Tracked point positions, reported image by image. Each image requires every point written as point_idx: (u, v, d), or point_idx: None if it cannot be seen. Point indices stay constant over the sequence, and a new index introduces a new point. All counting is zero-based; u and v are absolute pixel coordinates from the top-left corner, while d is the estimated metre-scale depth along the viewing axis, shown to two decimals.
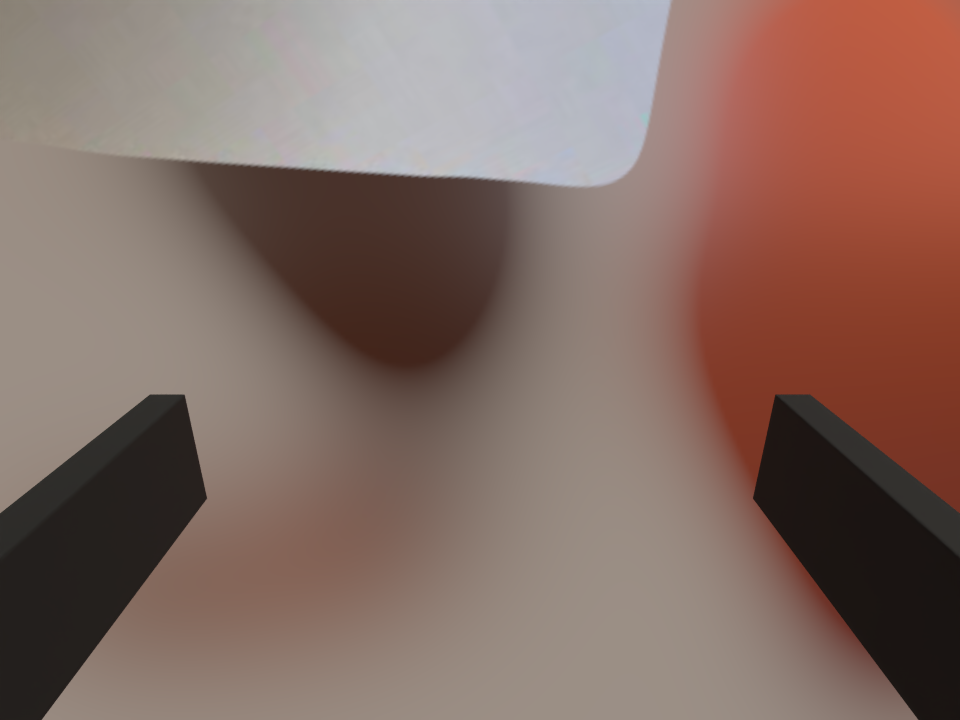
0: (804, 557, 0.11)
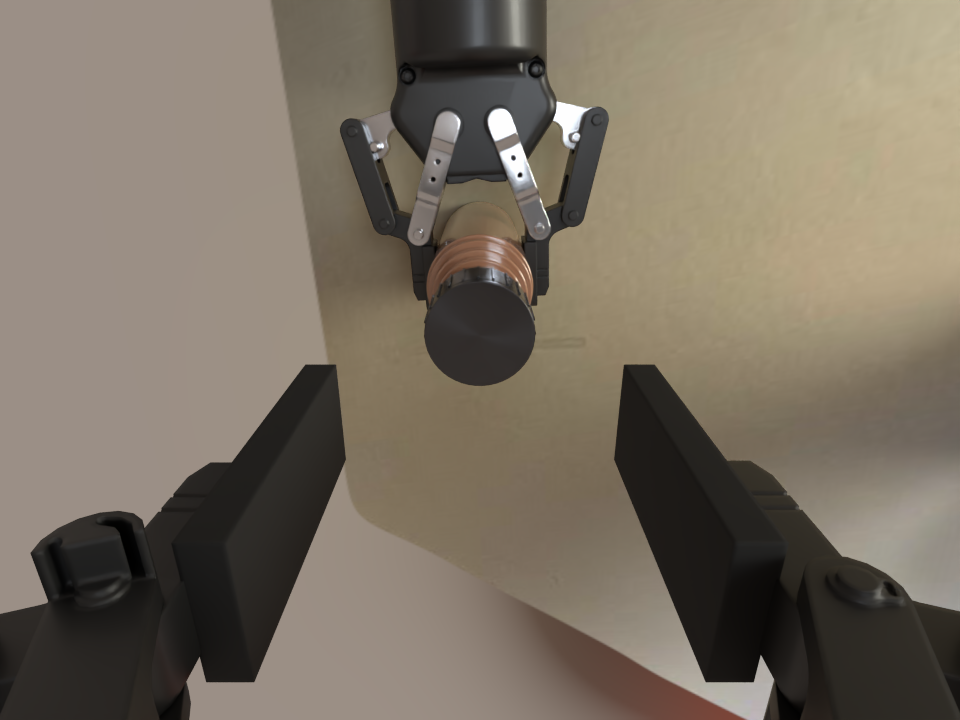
0: (636, 504, 0.13)
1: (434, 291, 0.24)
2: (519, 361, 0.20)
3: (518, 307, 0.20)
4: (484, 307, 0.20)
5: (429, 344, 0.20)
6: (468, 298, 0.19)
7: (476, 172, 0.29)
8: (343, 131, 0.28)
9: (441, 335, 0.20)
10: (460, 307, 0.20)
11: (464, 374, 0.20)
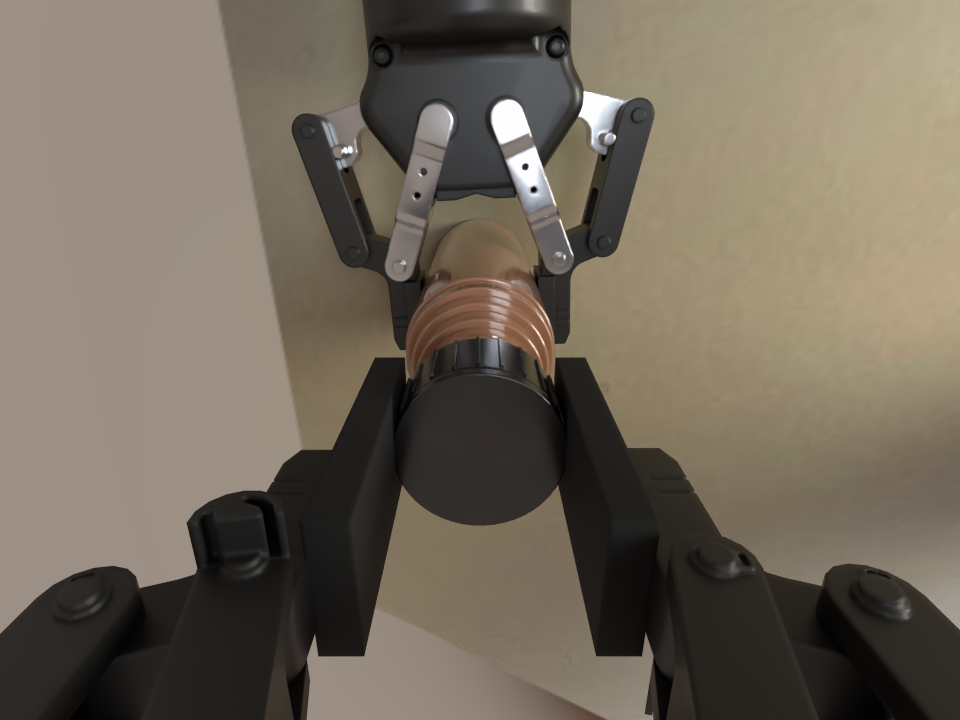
0: (561, 491, 0.13)
1: (415, 360, 0.17)
2: (542, 491, 0.13)
3: (542, 412, 0.12)
4: (487, 412, 0.12)
5: (400, 467, 0.13)
6: (461, 399, 0.12)
7: (475, 185, 0.22)
8: (296, 131, 0.21)
9: (419, 453, 0.13)
10: (449, 412, 0.12)
11: (456, 509, 0.13)
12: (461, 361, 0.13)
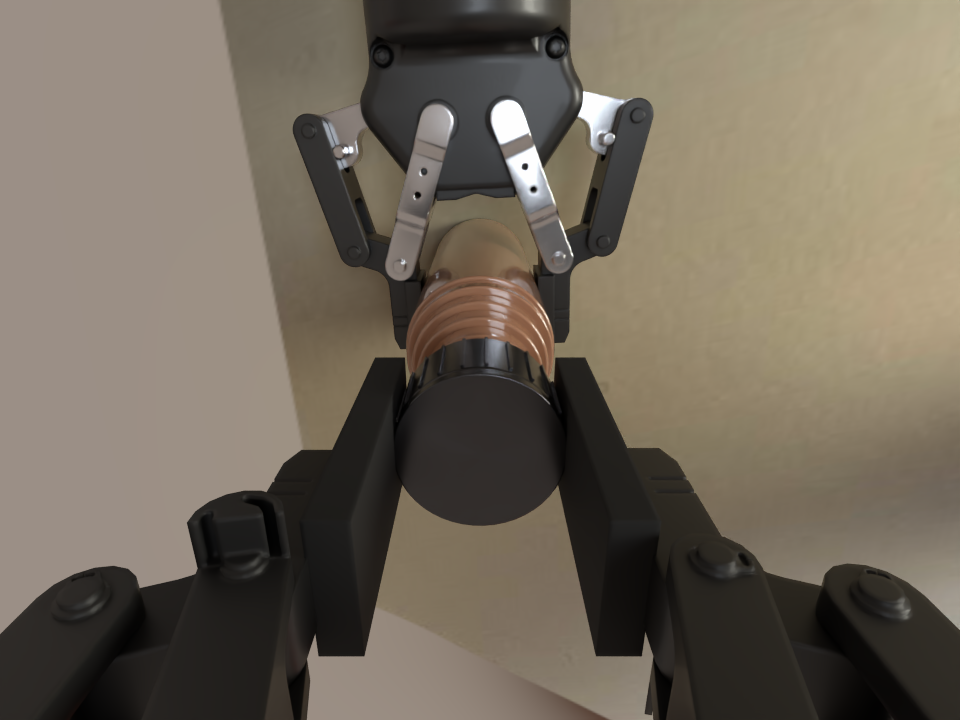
0: (561, 492, 0.13)
1: (415, 358, 0.17)
2: (465, 384, 0.12)
3: (404, 445, 0.12)
4: (442, 478, 0.13)
5: (545, 493, 0.13)
6: (450, 501, 0.13)
7: (475, 185, 0.22)
8: (297, 131, 0.21)
9: (521, 490, 0.13)
10: (468, 499, 0.13)
11: (546, 428, 0.12)
12: None
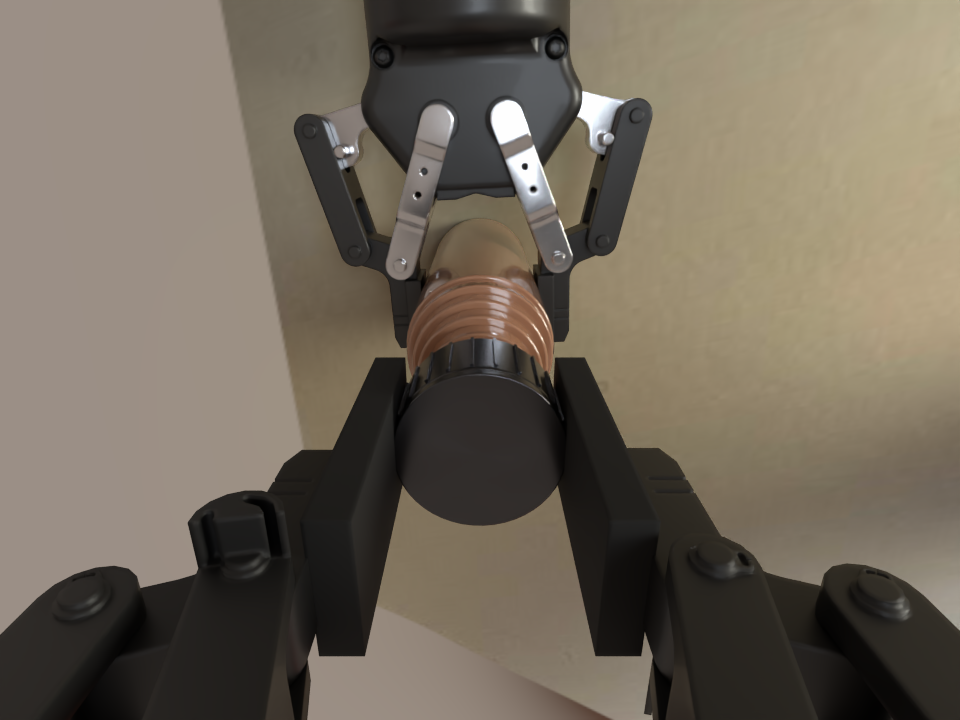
0: (561, 492, 0.13)
1: (416, 357, 0.17)
2: (437, 507, 0.13)
3: (524, 504, 0.13)
4: (526, 460, 0.13)
5: (464, 381, 0.12)
6: (541, 439, 0.12)
7: (475, 185, 0.22)
8: (298, 131, 0.21)
9: (480, 399, 0.12)
10: (527, 427, 0.12)
11: (412, 432, 0.12)
12: None
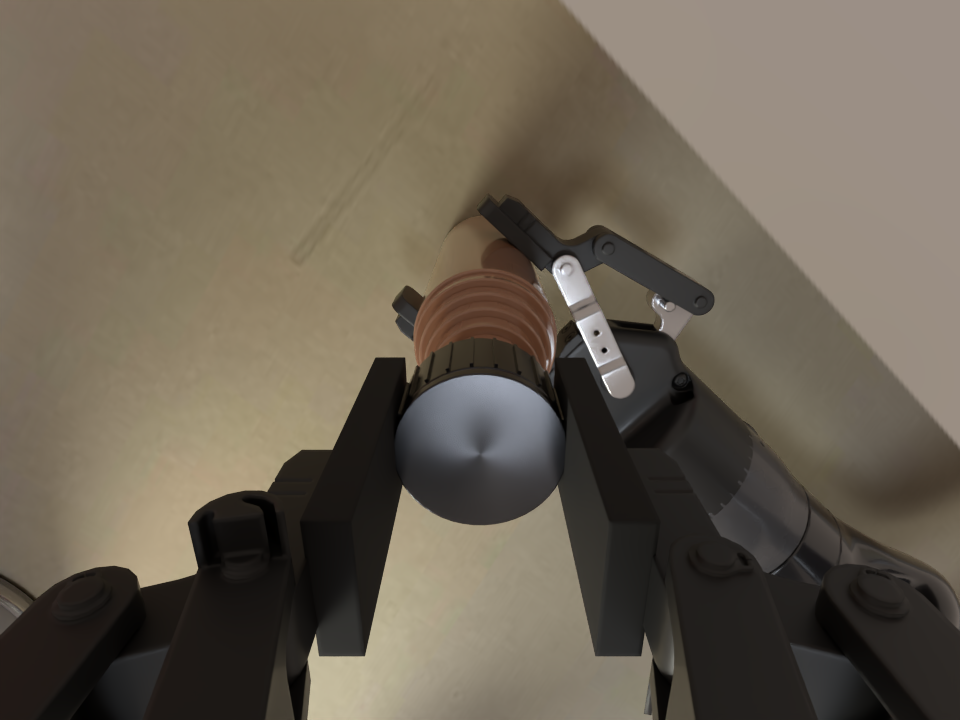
0: (561, 491, 0.13)
1: (537, 322, 0.17)
2: (437, 506, 0.13)
3: (524, 503, 0.13)
4: (526, 460, 0.13)
5: (464, 381, 0.12)
6: (541, 439, 0.12)
7: None
8: (708, 295, 0.24)
9: (480, 399, 0.12)
10: (527, 427, 0.12)
11: (412, 432, 0.12)
12: (562, 421, 0.13)
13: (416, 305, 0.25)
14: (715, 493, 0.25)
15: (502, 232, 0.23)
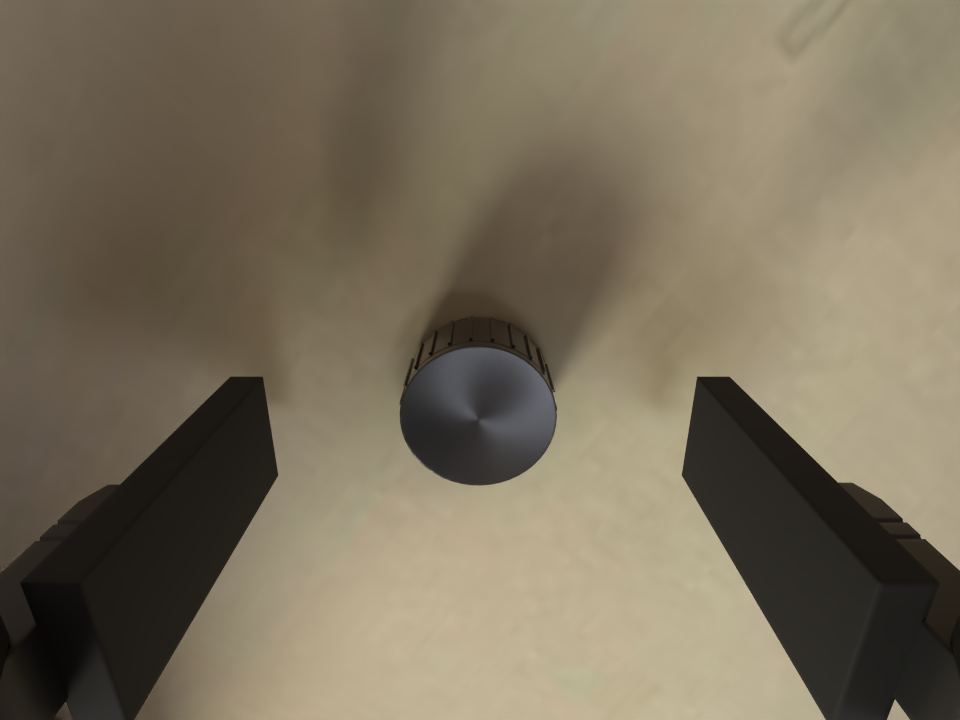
0: (717, 525, 0.12)
1: None
2: (440, 468, 0.15)
3: (518, 465, 0.15)
4: (519, 425, 0.14)
5: (464, 353, 0.13)
6: (533, 405, 0.14)
7: None
8: None
9: (478, 369, 0.14)
10: (520, 395, 0.14)
11: (417, 399, 0.14)
12: None
13: None
14: None
15: None
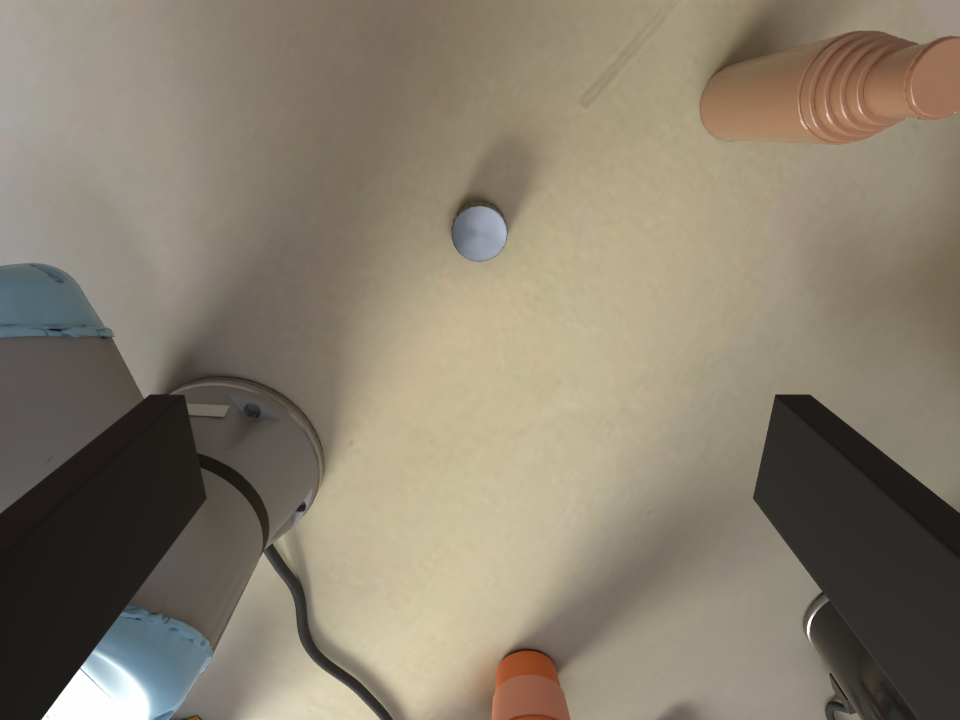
0: (804, 556, 0.11)
1: None
2: (465, 254, 0.40)
3: (493, 253, 0.40)
4: (494, 236, 0.40)
5: (474, 208, 0.39)
6: (498, 228, 0.40)
7: None
8: None
9: (479, 214, 0.39)
10: (494, 224, 0.40)
11: (458, 226, 0.40)
12: None
13: None
14: None
15: None
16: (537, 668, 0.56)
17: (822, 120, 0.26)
